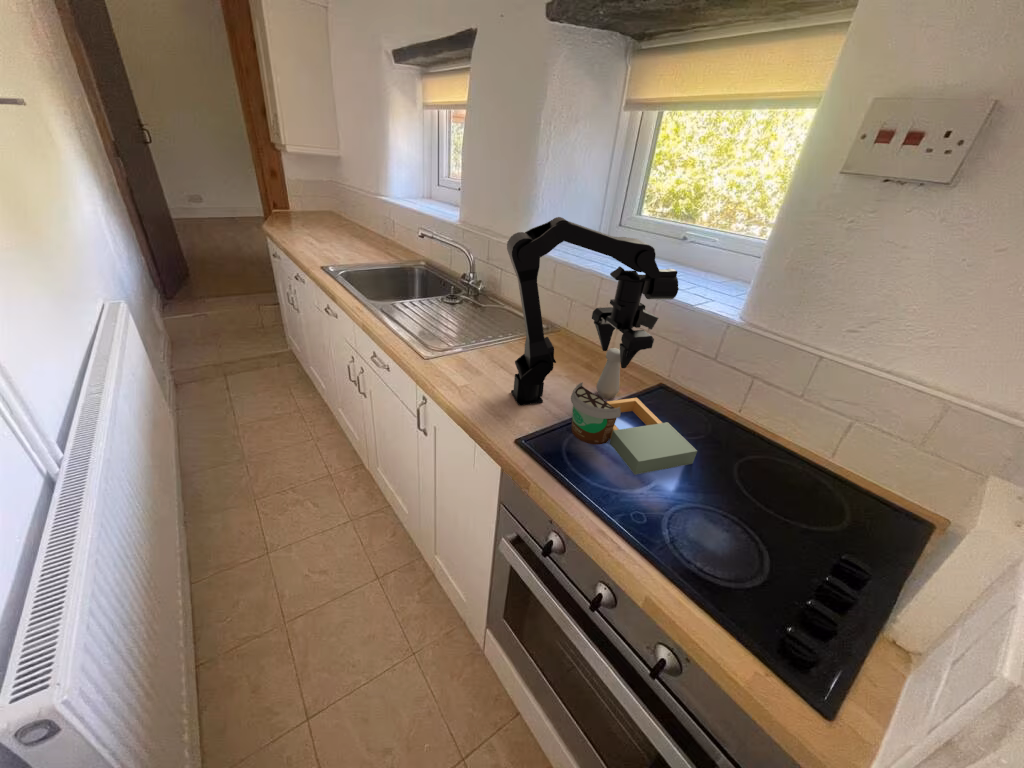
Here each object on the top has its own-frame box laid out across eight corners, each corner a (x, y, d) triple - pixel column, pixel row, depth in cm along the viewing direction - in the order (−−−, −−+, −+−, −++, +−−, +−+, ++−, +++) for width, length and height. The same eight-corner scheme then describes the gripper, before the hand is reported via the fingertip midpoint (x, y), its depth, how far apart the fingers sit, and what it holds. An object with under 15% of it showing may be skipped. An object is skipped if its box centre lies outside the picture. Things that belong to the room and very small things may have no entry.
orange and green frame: (634, 474, 81) (638, 461, 79) (586, 414, 98) (589, 402, 96) (692, 463, 85) (697, 450, 83) (636, 407, 102) (640, 395, 100)
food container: (554, 424, 93) (560, 388, 88) (574, 417, 97) (580, 381, 91) (592, 455, 85) (601, 417, 80) (612, 446, 88) (622, 408, 83)
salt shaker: (601, 386, 110) (611, 343, 103) (621, 395, 107) (632, 350, 100) (590, 395, 106) (599, 350, 99) (610, 403, 103) (621, 358, 96)
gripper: (683, 312, 88) (663, 374, 96) (635, 284, 103) (622, 340, 111) (638, 314, 84) (622, 379, 92) (596, 285, 99) (585, 343, 107)
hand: (613, 359), depth 101 cm, fingers open, 9 cm apart
